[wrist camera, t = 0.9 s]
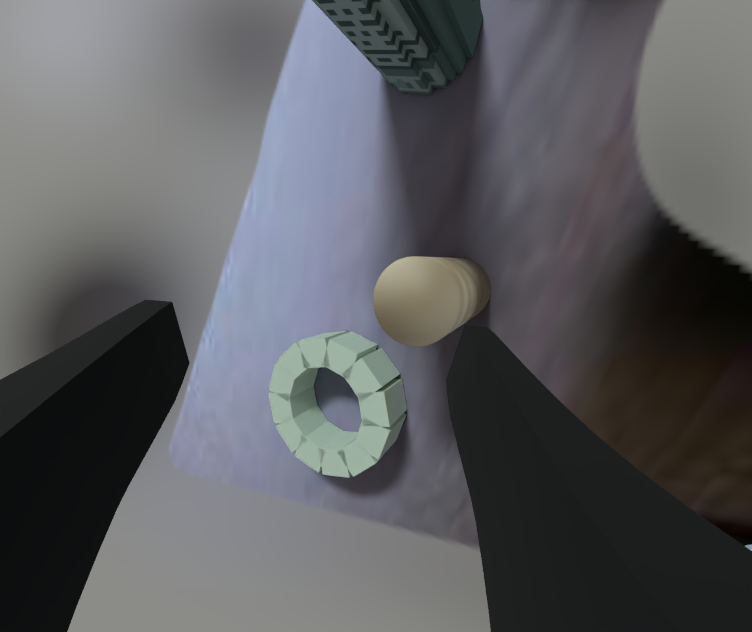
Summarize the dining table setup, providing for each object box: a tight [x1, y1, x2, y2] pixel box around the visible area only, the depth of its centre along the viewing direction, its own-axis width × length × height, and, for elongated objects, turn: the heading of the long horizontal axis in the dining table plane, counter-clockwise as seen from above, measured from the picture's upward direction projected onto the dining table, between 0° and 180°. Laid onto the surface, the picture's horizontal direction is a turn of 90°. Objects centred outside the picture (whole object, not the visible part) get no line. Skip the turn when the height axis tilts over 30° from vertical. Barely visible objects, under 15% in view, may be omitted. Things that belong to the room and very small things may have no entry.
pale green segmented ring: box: [269, 331, 407, 478], centre depth 27 cm, size 10×10×3 cm
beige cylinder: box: [373, 256, 491, 347], centre depth 19 cm, size 4×4×8 cm
